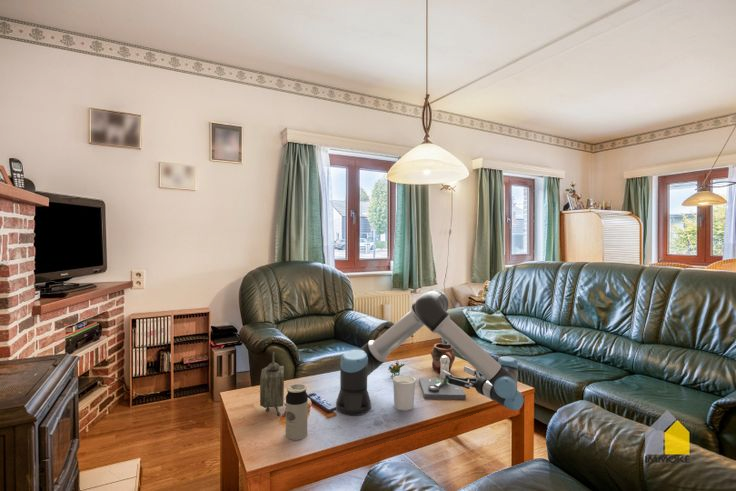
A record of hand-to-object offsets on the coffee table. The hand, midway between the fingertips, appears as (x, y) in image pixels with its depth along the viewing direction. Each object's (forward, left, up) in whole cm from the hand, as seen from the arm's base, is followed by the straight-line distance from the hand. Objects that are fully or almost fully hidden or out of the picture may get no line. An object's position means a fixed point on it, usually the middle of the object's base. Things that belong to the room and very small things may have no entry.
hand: (453, 370), depth 177 cm
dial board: (-5, +4, -11) cm, 13 cm away
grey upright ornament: (-81, -21, -11) cm, 84 cm away
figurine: (-26, +21, -11) cm, 35 cm away
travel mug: (-67, -39, -11) cm, 78 cm away
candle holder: (-25, -14, -11) cm, 30 cm away
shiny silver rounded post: (-6, +3, -9) cm, 11 cm away
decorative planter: (0, +29, -11) cm, 31 cm away
